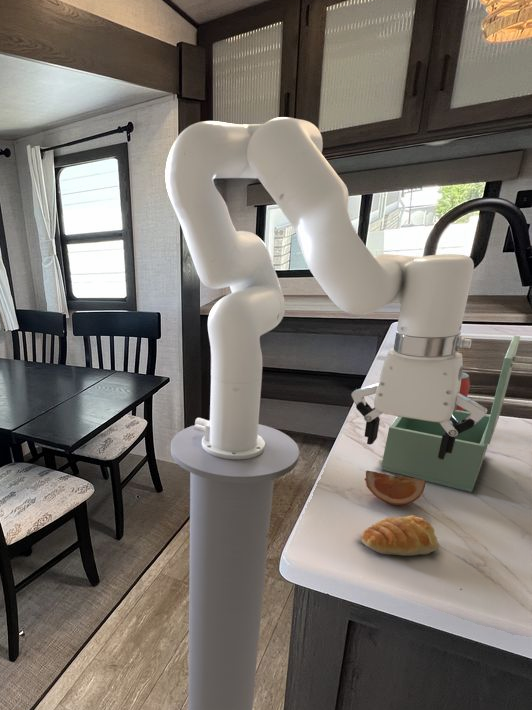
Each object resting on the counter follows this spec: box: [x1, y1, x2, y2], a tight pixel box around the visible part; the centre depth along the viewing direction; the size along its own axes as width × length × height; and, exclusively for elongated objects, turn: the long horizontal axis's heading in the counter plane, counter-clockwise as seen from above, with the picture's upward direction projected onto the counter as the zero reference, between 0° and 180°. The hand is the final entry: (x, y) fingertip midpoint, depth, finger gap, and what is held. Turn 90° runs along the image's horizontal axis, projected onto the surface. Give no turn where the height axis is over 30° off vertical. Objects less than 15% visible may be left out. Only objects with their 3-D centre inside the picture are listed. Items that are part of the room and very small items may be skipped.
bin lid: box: [483, 335, 532, 445], centre depth 76 cm, size 14×15×6 cm
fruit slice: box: [364, 470, 426, 506], centre depth 78 cm, size 8×7×5 cm
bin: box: [380, 410, 490, 493], centre depth 87 cm, size 14×15×9 cm
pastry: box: [361, 514, 439, 557], centre depth 69 cm, size 9×7×4 cm
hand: (405, 448), depth 75 cm, fingers open, 9 cm apart
